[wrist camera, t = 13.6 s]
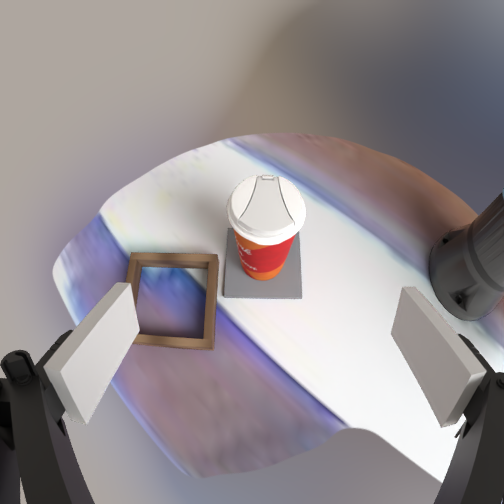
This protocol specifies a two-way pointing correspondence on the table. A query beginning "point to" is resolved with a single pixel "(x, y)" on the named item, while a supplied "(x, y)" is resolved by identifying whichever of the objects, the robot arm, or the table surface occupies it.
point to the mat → (275, 288)
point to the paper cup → (265, 223)
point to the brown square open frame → (178, 262)
